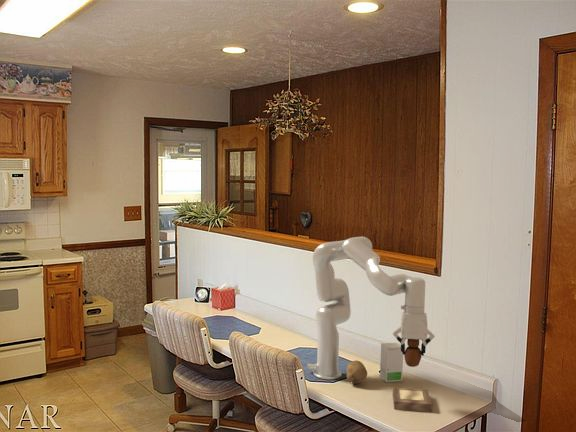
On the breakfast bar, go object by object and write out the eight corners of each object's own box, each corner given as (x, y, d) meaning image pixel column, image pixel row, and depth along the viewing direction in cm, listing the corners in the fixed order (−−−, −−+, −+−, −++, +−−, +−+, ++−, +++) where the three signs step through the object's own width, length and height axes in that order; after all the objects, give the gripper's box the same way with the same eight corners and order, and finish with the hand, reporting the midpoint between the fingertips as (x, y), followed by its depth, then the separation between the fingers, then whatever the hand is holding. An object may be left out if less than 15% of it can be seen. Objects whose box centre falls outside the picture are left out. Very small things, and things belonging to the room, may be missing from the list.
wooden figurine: (409, 361, 218) (411, 324, 217) (423, 364, 215) (424, 327, 214) (401, 366, 213) (403, 328, 212) (415, 369, 210) (416, 331, 208)
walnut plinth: (394, 408, 209) (394, 400, 209) (392, 394, 223) (392, 386, 223) (431, 411, 207) (431, 403, 207) (427, 397, 221) (427, 389, 221)
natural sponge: (368, 381, 237) (369, 359, 236) (364, 388, 228) (365, 365, 228) (348, 378, 240) (348, 356, 239) (343, 385, 232) (344, 362, 231)
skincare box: (385, 382, 236) (386, 347, 234) (378, 377, 242) (380, 343, 241) (403, 381, 238) (404, 346, 237) (396, 375, 244) (397, 341, 243)
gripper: (392, 310, 210) (390, 355, 211) (438, 313, 207) (436, 358, 209) (391, 305, 217) (390, 349, 219) (436, 308, 215) (434, 352, 216)
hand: (412, 353), depth 214 cm, fingers closed on wooden figurine, 6 cm apart
